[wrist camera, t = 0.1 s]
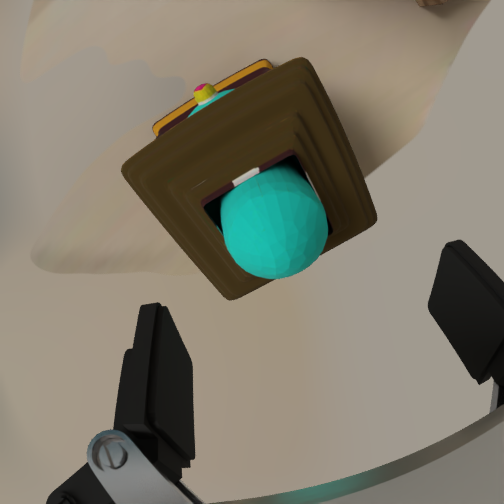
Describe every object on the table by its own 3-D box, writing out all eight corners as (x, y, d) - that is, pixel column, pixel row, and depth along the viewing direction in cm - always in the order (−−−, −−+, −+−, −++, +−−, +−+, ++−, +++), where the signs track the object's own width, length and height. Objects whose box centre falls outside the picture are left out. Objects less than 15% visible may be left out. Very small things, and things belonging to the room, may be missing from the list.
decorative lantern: (266, 46, 35) (375, 15, 11) (327, 161, 46) (448, 283, 21) (141, 121, 39) (41, 221, 14) (216, 223, 50) (231, 393, 25)
